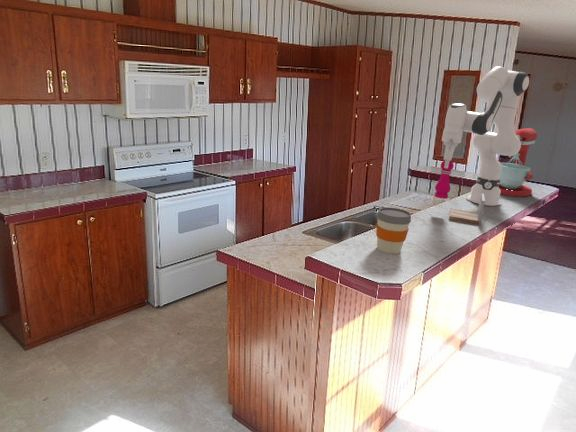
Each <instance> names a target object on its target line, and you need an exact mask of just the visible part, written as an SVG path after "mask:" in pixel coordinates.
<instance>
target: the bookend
mask: <svg viewBox="0 0 576 432" xmlns="http://www.w3.org/2000/svg"><path fill="white" fill-rule="evenodd" d="M484 203H485V198H484V194H482V193H481V198H480V202H479V204H478V208H477V212H475V211H469V210H465V209H464V210H463V209H459V208H458V209H457V208H452V207H451V208H450V210H449V217H448V220H449V221H452V222H458V223H464V224H469V225H470V224H471V225H475V226H480V224H481V221H482V216H483V213H484V207H485V205H484Z"/></svg>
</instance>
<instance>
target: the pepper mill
mask: <svg viewBox="0 0 576 432" xmlns="http://www.w3.org/2000/svg"><path fill="white" fill-rule="evenodd" d="M444 166H445V160H444V159H443V160H442V161H441V162H440V178H439V179H438V181H437V182H436V184H435V186H434V190H435V191H436V192H435V193H434V197H435V198H437V199H443V200H445V199H448V197H449V193H450V191H451V183H450V175H451V174H452V170H453V168H454V162H453V161H452V160H451V161H450V162H449V166H448V168H444Z"/></svg>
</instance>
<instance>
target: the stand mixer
mask: <svg viewBox="0 0 576 432" xmlns="http://www.w3.org/2000/svg"><path fill="white" fill-rule="evenodd" d="M514 131H515V134H516V136H517V137H518V138H519V140H520V142H521V148H520V150H519V152H518V153H517V154H516V155H514V156H512V157H511V159H510V160H509V161H507V162H500V163H501V165H502V171H501V175H500V184H499V186H498V187H499V189H500V190H501V192H500V195H502V194H504V195H503V196H507V195H509V196H508V197H514V196H527V197H529V195H530V196H531V195H532V193H533V190H532V187H530V186H527V185H524V183H525V182H526V180H527V181H528V180H532V179H533V174H532V173H531V167H529V166H526V165H525V164H526V159H527V155H528V152H529V148H530V145H533V144H536V139H537V135H538V133H537V131H536V130H535V129H533V128H532V127H528V128H519V129H517V130H514ZM506 189H508V190H506ZM511 190H513V191H511Z"/></svg>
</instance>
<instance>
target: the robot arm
mask: <svg viewBox="0 0 576 432" xmlns="http://www.w3.org/2000/svg"><path fill="white" fill-rule="evenodd" d="M529 85H530V76H529V74H528V73H527V72H524V71H517V70H508V69H507V68H506V67H504V66H500V65H499V66H495V67H493V68H492V69H491V70H489V71H488V72H486V74H485V75H484V76H483V77H482V79H481V80H480V81H479V83H478V84H477V86H476V94H477V97H478V98H479V99H480V100H481V101H482V102H484V103H486V104H488V105H487V107H486V108H485V111H483V112H476V111H469V110H467V105H466V104H464V103H459V102H458V103H451V104H450V105H449V106H448V108H447V112H446V116H445V120H444V128H443V132H442V136H441V142H443V145H444V146H445V149H444V155H443V161H444V160H445V166H444V168H448V166H449V162H450V161H451V162H452V159H453V156H454V152H455V149H456V147H458V144H461V143H462V139H463V134H464V132H466V133H472V134H474V135H475V136H474V137H473V140H472V141H473V147H474V148H475V150H476V151H477V153H478V155H479V159H480V166H479V172H478V175H477V177H476V182H475V184H473V186H472V187H471V188H470V193H469V195H468V196H467V197H466V198H465V199H466V201H469V202H472V203H475V204H478V205H479V202H480V198H481V193H482V194H484V198H485V203H484V206H489V207H490V206H502V205H503V203H502V202H501V201H500V196H501V194H500V192H501V190H500V189H499V187H498V186H499V184H500V175H501V171H502V165H501V163H502V162H500V161H499V160H498V159H497V155H500V156H505V157H509V156H510V157H511V156H512V157H513V156H514V155H516V154H517V153H518V152H519V150H520V148H521V142H520V140H519V138H518V137H517V136H516V134H515V131H516V130H515V120H516V115H517V111H518V109H519V108H518V107H519V104H520V97H521V95H522V94H523V93H525V91H527V89H528V87H529ZM493 124H494V125H495V126H496V127H497V132H492V131H491V129H492V126H493Z"/></svg>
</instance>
